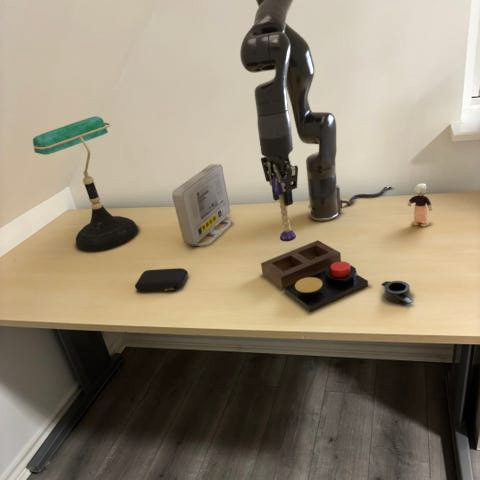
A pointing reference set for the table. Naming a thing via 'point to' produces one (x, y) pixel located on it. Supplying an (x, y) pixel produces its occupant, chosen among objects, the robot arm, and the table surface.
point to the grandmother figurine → (420, 205)
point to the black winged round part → (397, 292)
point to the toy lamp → (283, 211)
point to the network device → (202, 205)
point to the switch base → (327, 289)
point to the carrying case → (161, 279)
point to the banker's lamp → (89, 187)
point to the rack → (300, 264)
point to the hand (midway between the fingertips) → (283, 201)
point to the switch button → (340, 269)
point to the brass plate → (308, 285)
